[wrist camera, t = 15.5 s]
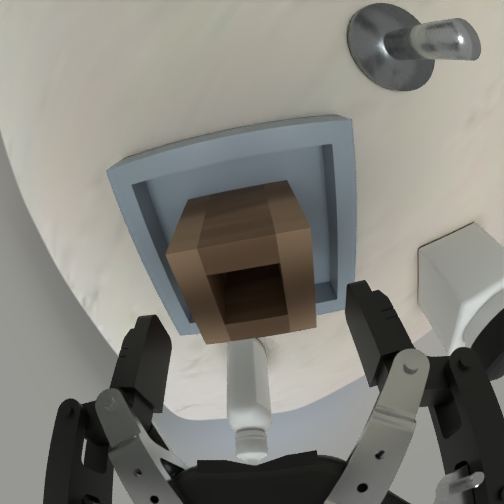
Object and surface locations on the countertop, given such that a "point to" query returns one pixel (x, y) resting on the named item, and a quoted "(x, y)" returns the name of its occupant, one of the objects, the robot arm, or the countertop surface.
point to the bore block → (245, 263)
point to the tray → (240, 176)
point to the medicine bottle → (466, 294)
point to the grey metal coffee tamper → (406, 45)
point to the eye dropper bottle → (248, 398)
